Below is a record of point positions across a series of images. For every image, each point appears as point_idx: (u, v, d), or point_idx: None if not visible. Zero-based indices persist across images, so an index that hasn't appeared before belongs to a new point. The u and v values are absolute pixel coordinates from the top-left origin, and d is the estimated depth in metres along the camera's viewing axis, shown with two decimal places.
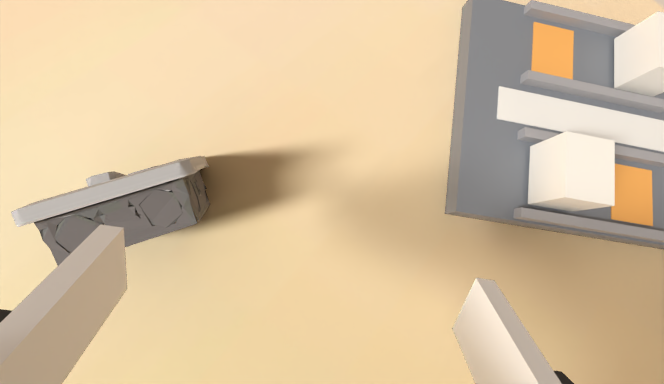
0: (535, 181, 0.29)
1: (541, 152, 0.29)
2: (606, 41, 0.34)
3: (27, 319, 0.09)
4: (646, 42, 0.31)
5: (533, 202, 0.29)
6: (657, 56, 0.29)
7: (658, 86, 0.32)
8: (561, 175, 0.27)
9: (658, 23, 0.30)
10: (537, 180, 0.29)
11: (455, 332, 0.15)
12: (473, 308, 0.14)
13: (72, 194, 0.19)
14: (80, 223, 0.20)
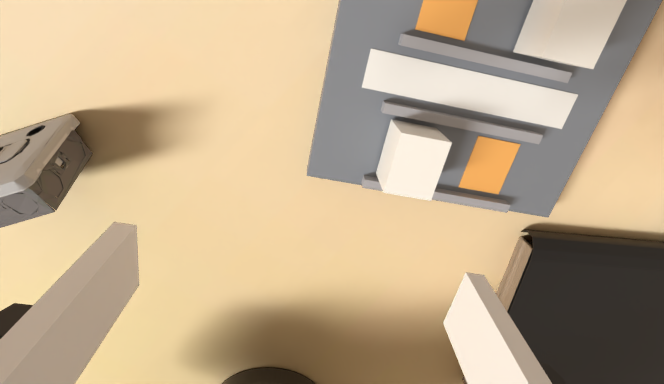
0: (382, 158, 0.31)
1: (391, 134, 0.30)
2: None
3: (49, 312, 0.09)
4: (550, 13, 0.25)
5: (377, 175, 0.32)
6: (546, 43, 0.25)
7: (556, 61, 0.27)
8: (388, 171, 0.29)
9: None
10: (383, 158, 0.31)
11: (446, 326, 0.15)
12: (463, 302, 0.14)
13: None
14: None
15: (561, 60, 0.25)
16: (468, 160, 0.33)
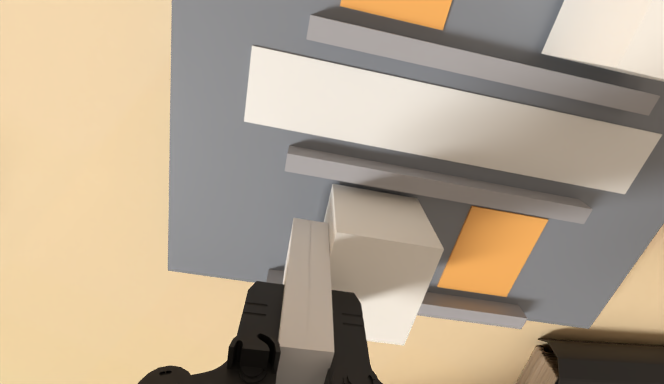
0: None
1: (329, 217, 0.15)
2: None
3: (301, 286, 0.12)
4: None
5: None
6: (631, 34, 0.10)
7: (634, 74, 0.13)
8: None
9: None
10: None
11: None
12: None
13: None
14: None
15: (663, 75, 0.11)
16: (454, 245, 0.18)
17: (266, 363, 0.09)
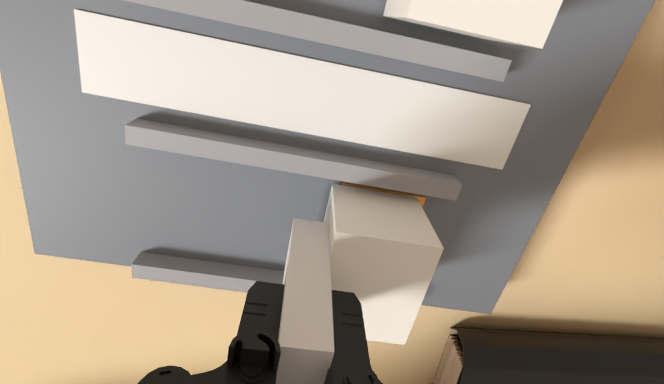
0: None
1: (328, 217, 0.15)
2: None
3: (300, 286, 0.12)
4: None
5: None
6: None
7: (468, 34, 0.12)
8: None
9: None
10: None
11: None
12: None
13: None
14: None
15: (459, 26, 0.10)
16: None
17: (266, 363, 0.09)
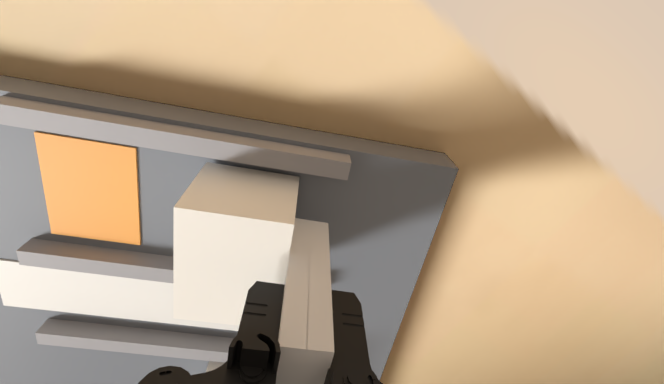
0: None
1: None
2: None
3: (301, 287, 0.12)
4: None
5: None
6: (174, 299, 0.14)
7: None
8: None
9: (176, 234, 0.12)
10: None
11: None
12: None
13: None
14: None
15: (212, 321, 0.14)
16: None
17: (266, 363, 0.09)
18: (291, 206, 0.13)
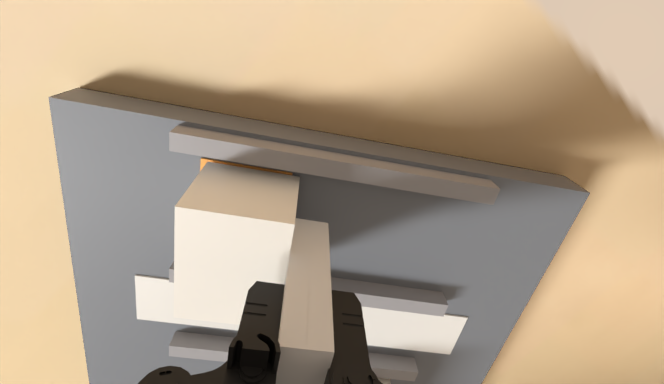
0: None
1: None
2: (367, 189, 0.17)
3: (301, 287, 0.12)
4: None
5: None
6: (174, 298, 0.14)
7: None
8: None
9: (177, 233, 0.13)
10: None
11: None
12: None
13: None
14: None
15: (212, 320, 0.14)
16: None
17: (266, 363, 0.09)
18: (291, 206, 0.14)
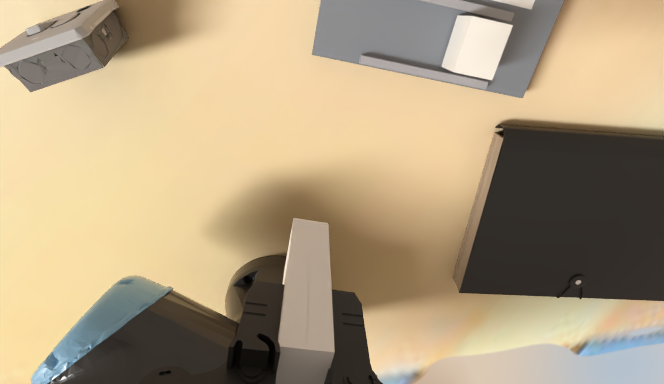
0: (449, 49, 0.37)
1: (458, 25, 0.36)
2: None
3: (300, 287, 0.12)
4: None
5: (443, 66, 0.38)
6: None
7: None
8: (458, 53, 0.35)
9: None
10: (450, 49, 0.37)
11: None
12: None
13: (16, 50, 0.31)
14: (30, 66, 0.32)
15: None
16: None
17: (266, 363, 0.09)
18: None
